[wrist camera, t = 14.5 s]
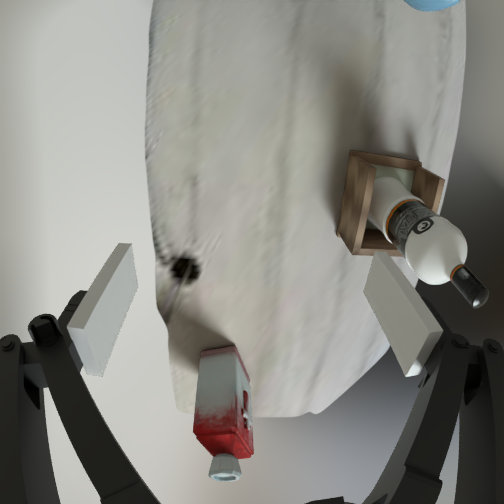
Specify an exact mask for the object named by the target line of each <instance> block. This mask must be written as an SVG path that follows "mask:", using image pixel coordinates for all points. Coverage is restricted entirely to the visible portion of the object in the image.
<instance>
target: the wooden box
mask: <svg viewBox="0 0 504 504" xmlns="http://www.w3.org/2000/svg"><path fill="white" fill-rule="evenodd" d="M421 166H422V162H420V161H415V160H410V159H404V158H399V157H393V156H387V155H381V154H374V153H368V152H361V151H353V150H350V155H349V162H348V169H347V175H346V182H345V188H344V194H343V200H342V206H341V212H340V218H339V223H338V229H337V234H336V235H337V237H341V238H342V239H343V241H344V243H345V244H346V246H347V247H348V249H349V251H350V252H351V254H352V255H369V256H374V252H375V251H377V252H387V253H388V254H389V256H400V257H403V255H402V254H401V253H400V252H399V251H398V249H397V248H396V247H395V246H394V245H393V244H392V243H390V242H389V241H388V240H387V239H386V237H385V236H384V233H383V232H382V231H381V230H379V229H378V228H377V227H375V226H373V225H372V224H371V223H369V222H368V220H367V217H368V212H369V207H370V202H371V197H372V192H373V187H374V181H375V179H376V178H379V177H384V176H388V177H393V178H395V179H397V180H398V181H400V182H401V183H402V184H403V185H404V186H405V187H406V189H407V190H408V191H409V192H410V193H411V194H412V195H413V196H415V197H418V198H420V199H421V200H422V201H423V202H424V203H425V205H426V206H428V207H429V208H430V209H431V210H433V211H434V212H435V213H437V211H438V207H439V203H440V199H441V195H442V191H443V187H444V182H445V180H444V179H443V178H441V177H439V176H437V175H435V174H434V173H432V172H430V171H428V170H426V169H424V168H423V167H421Z"/></svg>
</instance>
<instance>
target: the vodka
mask: <svg viewBox="0 0 504 504" xmlns="http://www.w3.org/2000/svg"><path fill="white" fill-rule="evenodd" d="M367 220H368V222H369V223H371V224H372V225H373V226H375V227H377V228H378V229H379V230H381V231H382V232H383V233H384V236H385V237H386V239H387V240H388V241H389V242H390V243H392V244H393V245H394V246H395V247H396V248H397V249H398V251H399V252H400V253H401V254H402V255H403V257H404V258H405V259H406V261H407V263H408V265H409V266H410V267H411V268H412V269H413V270H414V272H415V274H416V275H417V276H418V277H419V279H421V280H423V281H424V282H426V283H428V284H432V285H435V284H443V283H446V282H448V281H450V280H451V282H452V283H453V284H454V285H455V286H456V287H457V289H458V290H459V291H460V292H461V293H462V294H463V296H464V297H465V298H466V299H467V301H468V302H469V303H470V304H471V305H472V307H473V308H478V307H481V306H482V305H483V304H484V303H485V302H486V301H487V299H488V296H489V291H488V289H486V288H485V286H484V285H483V284H482V283H481V282H480V281H479V280H478V279H477V278H476V277H475V276H474V275H473V274H472V272H471V271H470V270H468V268H467V267H466V266H465V265H464V262H465V260H466V256H467V243H466V240H465V238H464V236H463V234H462V232H461V231H460V230H459V229H458V228H457V227H456V226H454V225H452V224H451V223H450V222H449V221H448V220H447V219H444V218H443V217H440V216H439V215H438V214H437V213H435V212H434V211H433V210H431V209H430V208H429V207H428V206H426V205H425V203H424V202H423V201H422V200H421V199H420V198H418V197H415V196H413V195H412V194H411V193H410V192H409V191H408V190H407V189H406V187H405V186H404V185H403V184H402V183H401V182H400V181H398V180H397V179H395V178H393V177H388V176H384V177H379V178H376V179H375V181H374V187H373V192H372V197H371V202H370V207H369V212H368V217H367Z"/></svg>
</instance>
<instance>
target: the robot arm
mask: <svg viewBox="0 0 504 504" xmlns="http://www.w3.org/2000/svg"><path fill="white" fill-rule="evenodd" d="M404 1H405V2H406V3H407V4H409V5H410V6H411V7H413V8H415V9H417V10H420V11H427V12H430V11H437V10H442V9H445V8H448V7H451V6H453V5H455V4H457V3H459V2H460V0H404ZM137 288H138V283H137V276H136V270H135V264H134V257H133V250H132V244H125V243H124V244H123V243H119V244H118V245H117V247H116V248H115V249H114V251H113V252H112V254H111V255H110V257H109V258H108V260H107V262H106V263H105V265H104V266H103V267H102V269H101V271H100V272H99V274H98V275H97V277H96V278H95V280H94V282H93V283H92V285H91V286H90V288H89V290H88V291H82V290H80V291H79V292H77V293H76V294H75V295H74V296H73V297H72V298H71V299H70V301H69V303H68V305H67V306H66V307H65V309H64V311H63V312H62V314H61V316H60V317H59V319H58V320H57V319H56V318H55V317H54V316H53V315H51V314H42V315H39V316H37V317H35V318H34V319H33V320H32V321H31V322H30V323H29V325H28V331H29V333H30V336H31V338H32V340H33V342H27V343H22V342H21V341H20V339H19V337H18V336H17V335H14V334H12V335H11V334H10V335H6V336H4V337H2V338H1V339H0V504H61V503H60V499H59V495H58V491H57V487H56V482H55V478H54V472H53V467H52V462H51V456H50V449H49V443H48V436H47V427H46V418H45V406H44V392H43V388H46V387H49V390H50V393H51V395H52V398H53V401H54V403H55V406H56V408H57V411H58V413H59V416H60V418H61V421H62V423H63V425H64V428H65V430H66V432H67V434H68V437H69V439H70V441H71V443H72V445H73V447H74V449H75V451H76V453H77V455H78V457H79V459H80V461H81V463H82V465H83V467H84V469H85V471H86V473H87V474H88V476H89V478H90V480H91V481H92V483H93V485H94V487H95V489H96V490H97V492H98V494H99V496H100V498H101V499H100V501H101V504H161V503H160V502H159V501H158V500H157V498H156V497H155V496H154V494H153V493H152V492H151V490H150V489H149V488H148V486H147V485H146V483H145V482H144V481H143V479H142V478H141V477H140V475H139V474H138V472H137V471H136V470H135V468H134V467H133V465H132V464H131V462H130V461H129V459H128V458H127V456H126V455H125V453H124V452H123V450H122V449H121V447H120V445H119V444H118V442H117V441H116V439H115V437H114V436H113V434H112V432H111V431H110V429H109V427H108V425H107V424H106V422H105V420H104V418H103V417H102V415H101V413H100V411H99V409H98V408H97V406H96V404H95V402H94V400H93V398H92V397H91V394H90V392H89V391H88V388H87V386H86V384H85V382H84V380H83V378H82V376H81V374H80V371H81V368H82V366H83V367H84V369H85V371H86V373H87V374H89V375H95V376H101V377H102V376H103V374H104V371H105V368H106V365H107V363H108V360H109V358H110V355H111V352H112V350H113V347H114V344H115V342H116V339H117V337H118V334H119V332H120V329H121V327H122V324H123V322H124V319H125V317H126V314H127V312H128V309H129V307H130V304H131V302H132V300H133V298H134V295H135V293H136V291H137ZM364 294H365V296H366V298H367V300H368V302H369V303H370V305H371V307H372V309H373V311H374V313H375V315H376V317H377V319H378V321H379V323H380V325H381V327H382V329H383V331H384V333H385V335H386V337H387V339H388V341H389V343H390V345H391V347H392V349H393V351H394V353H395V355H396V357H397V360H398V362H399V364H400V366H401V368H402V370H403V372H404V374H405V377H408V376H413V375H419V373H420V372H421V370H422V368H423V367H424V366H425V368H426V370H427V373H426V375H425V376H424V378H423V379H422V381H421V383H420V384H419V386H418V387H419V388H420V390H419V393H418V395H417V398H416V401H415V403H414V406H413V408H412V411H411V413H410V416H409V418H408V420H407V423H406V425H405V427H404V430H403V432H402V434H401V436H400V438H399V441H398V443H397V445H396V447H395V449H394V451H393V453H392V455H391V457H390V459H389V461H388V463H387V465H386V467H385V469H384V471H383V473H382V475H381V476H380V478H379V480H378V482H377V484H376V486H375V487H374V489H373V490H372V492H371V493H370V495H369V496H368V497H367V498H366V500H365V501H364V502H363V503H362V504H435V503H436V501H437V499H438V496H439V494H440V491H441V488H442V480H440V479H439V476H440V472H441V470H442V467H443V464H444V461H445V458H446V455H447V452H448V449H449V446H450V442H451V439H452V435H453V431H454V428H455V425H456V421H457V417H458V413H460V414H459V419H460V429H459V430H460V432H459V435H460V436H459V459H458V473H457V484H456V493H455V501H454V504H504V350H503V348H502V346H501V345H500V344H499V342H497V341H496V340H493V339H490V338H488V339H485V340H484V341H483V343H482V344H481V346H476V345H470V343H469V341H468V340H467V339H466V338H465V337H464V336H462V335H460V334H456V333H452V331H451V330H450V328H449V327H448V326H447V324H446V323H445V321H444V320H443V318H442V317H441V316H440V314H439V312H438V311H436V308H435V307H434V305H433V304H432V303H431V302H430V301H429V300H427V299H426V298H425V297H420V296H419V295H418V293H417V292H416V290H415V289H414V288H413V286H412V285H411V283H410V282H409V281H408V279H407V278H406V277H405V275H404V274H403V273H402V271H401V270H400V269H399V267H398V266H397V265H396V263H395V262H394V261H393V260H392V258H391V257H390V256H389V254H388V253H387V252H377V251H375V252H374V256H373V260H372V264H371V267H370V271H369V275H368V278H367V282H366V285H365V288H364ZM306 504H354V503H349V502H344V499H343V496H342V497H336V498H330V499H323V500H316V501H311V502H309V503H306Z"/></svg>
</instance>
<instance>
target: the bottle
mask: <svg viewBox="0 0 504 504" xmlns="http://www.w3.org/2000/svg"><path fill="white" fill-rule="evenodd" d="M201 356H202V358H201V359H200V364H199V373H198V383H197V393H196V403H195V414H194V425H193V433H194V434H195V435H196V436H197V437H196V438H197V439H198V441H199V442H200V443H201V444H202V445H203V446H204V447H205V448H206V449H207V450H208V452H209V453H210V454H211V455H212V456H213V457H214V458H213V460H212V463H211V467H210V471H209V477H210V478H211V479H214V480H217V481H229V482H230V481H234V480H238V479H239V478H240V476H241V474H242V473H241V469H240V466H239V463H238V459H244V458H250V457H251V455H253V454H254V449H253V429H252V407H251V387H250V385H249V382H250V379H249V376H248V374H247V372H246V369H245V367H244V365H243V362H242V360H241V357H240V355H239V353H238V350H237V348H236V347H235V346H231V347H225V348H219V349H213V350H207V351H202V352H201Z"/></svg>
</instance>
